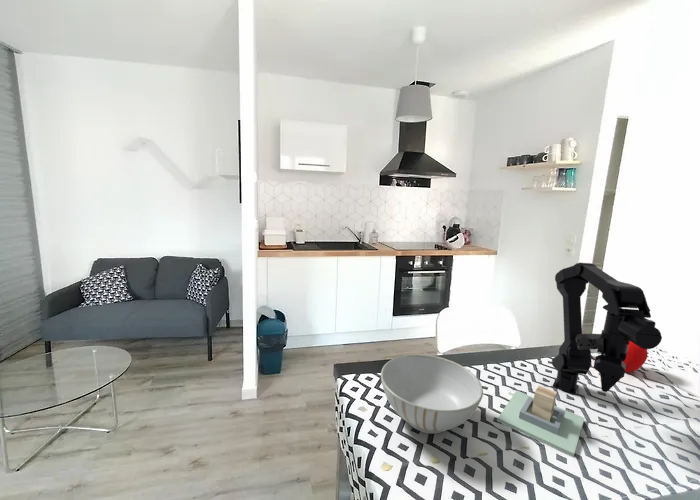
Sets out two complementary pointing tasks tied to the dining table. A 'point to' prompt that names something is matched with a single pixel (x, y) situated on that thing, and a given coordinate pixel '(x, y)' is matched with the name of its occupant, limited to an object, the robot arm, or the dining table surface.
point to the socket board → (543, 423)
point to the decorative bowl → (431, 391)
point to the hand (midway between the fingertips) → (605, 384)
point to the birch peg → (544, 403)
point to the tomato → (635, 357)
